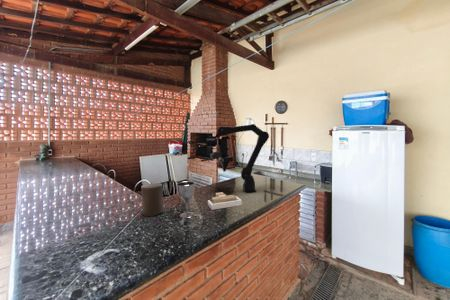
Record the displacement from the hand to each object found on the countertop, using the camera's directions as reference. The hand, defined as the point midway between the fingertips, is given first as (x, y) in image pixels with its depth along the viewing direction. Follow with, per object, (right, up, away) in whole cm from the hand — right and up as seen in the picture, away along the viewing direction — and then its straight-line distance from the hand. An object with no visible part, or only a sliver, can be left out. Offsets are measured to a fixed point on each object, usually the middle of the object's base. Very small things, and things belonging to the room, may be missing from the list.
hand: (224, 171), depth 131 cm
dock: (0, -15, -22) cm, 27 cm away
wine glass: (-17, -17, -34) cm, 42 cm away
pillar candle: (-34, -17, -29) cm, 48 cm away
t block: (-1, -15, -19) cm, 24 cm away
